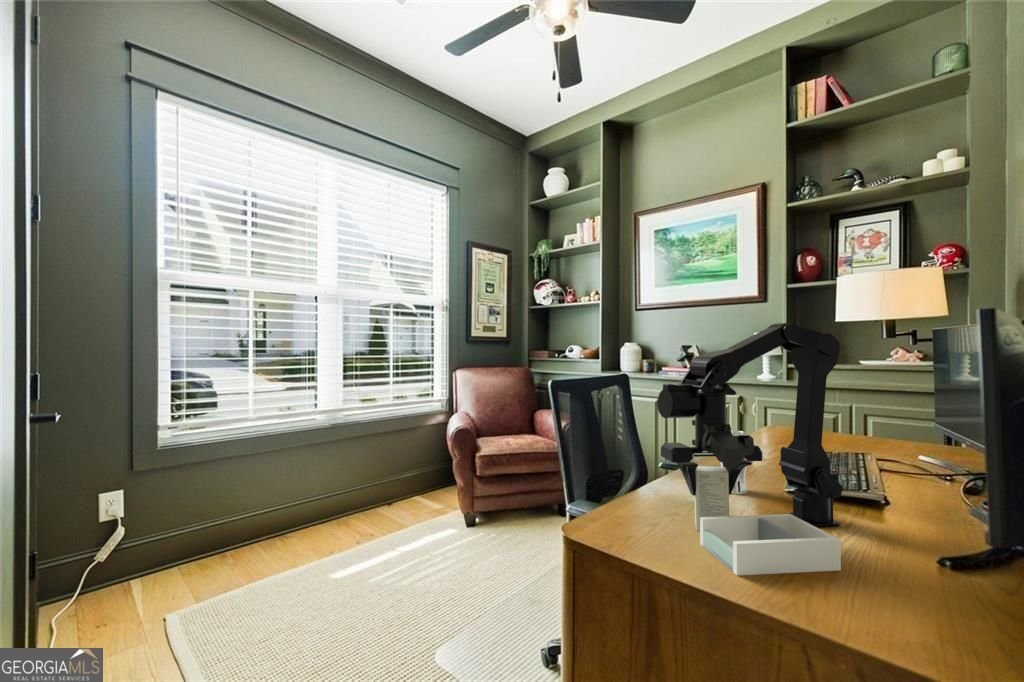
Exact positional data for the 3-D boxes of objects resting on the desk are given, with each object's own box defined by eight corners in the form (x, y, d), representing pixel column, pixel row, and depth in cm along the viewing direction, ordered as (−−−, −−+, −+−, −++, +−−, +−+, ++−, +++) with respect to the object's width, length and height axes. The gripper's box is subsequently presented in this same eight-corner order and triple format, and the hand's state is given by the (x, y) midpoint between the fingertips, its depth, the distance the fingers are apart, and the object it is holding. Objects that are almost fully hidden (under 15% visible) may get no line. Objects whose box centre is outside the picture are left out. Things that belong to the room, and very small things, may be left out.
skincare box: (726, 526, 87) (726, 466, 88) (730, 535, 83) (729, 472, 83) (693, 522, 89) (693, 464, 90) (695, 530, 85) (694, 469, 86)
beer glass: (753, 496, 106) (752, 435, 106) (722, 494, 107) (722, 434, 108) (743, 487, 113) (743, 430, 113) (715, 485, 114) (715, 429, 114)
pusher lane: (790, 540, 81) (790, 514, 81) (840, 570, 70) (840, 539, 70) (700, 544, 79) (699, 517, 79) (736, 575, 68) (736, 543, 68)
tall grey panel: (763, 539, 79) (763, 518, 79) (797, 561, 71) (796, 537, 71) (758, 539, 79) (758, 518, 79) (791, 561, 71) (791, 537, 71)
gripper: (686, 424, 78) (686, 510, 78) (782, 423, 80) (782, 507, 79) (659, 415, 89) (659, 490, 89) (744, 414, 91) (744, 488, 90)
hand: (710, 494), depth 86 cm, fingers closed on skincare box, 7 cm apart
